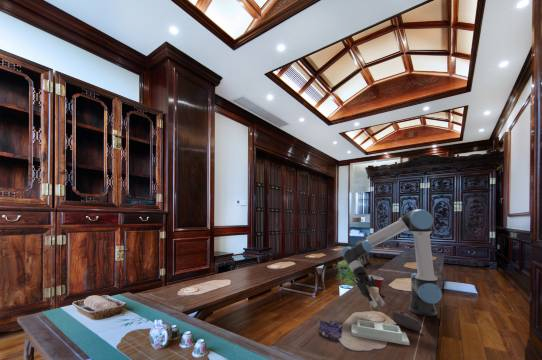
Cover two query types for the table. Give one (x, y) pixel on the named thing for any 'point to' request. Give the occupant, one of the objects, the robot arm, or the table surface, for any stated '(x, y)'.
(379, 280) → the plastic cup
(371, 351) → the table surface
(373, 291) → the birch peg
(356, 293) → the table surface
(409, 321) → the perforated stone tool
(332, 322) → the mineral specimen
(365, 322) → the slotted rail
